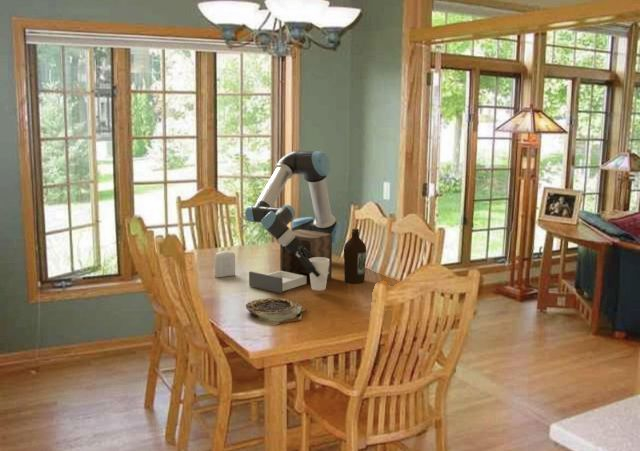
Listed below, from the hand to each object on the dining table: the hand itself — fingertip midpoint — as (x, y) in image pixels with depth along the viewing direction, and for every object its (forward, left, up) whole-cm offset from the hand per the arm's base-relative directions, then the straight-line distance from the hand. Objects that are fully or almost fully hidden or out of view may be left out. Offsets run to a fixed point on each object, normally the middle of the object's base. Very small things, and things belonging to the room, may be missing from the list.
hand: (325, 277), depth 287 cm
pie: (+36, 0, -8) cm, 37 cm away
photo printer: (+5, -57, -8) cm, 58 cm away
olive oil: (-27, -3, -8) cm, 28 cm away
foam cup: (+2, -3, -5) cm, 6 cm away
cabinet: (-17, -25, -7) cm, 31 cm away
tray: (+2, -25, -7) cm, 26 cm away
